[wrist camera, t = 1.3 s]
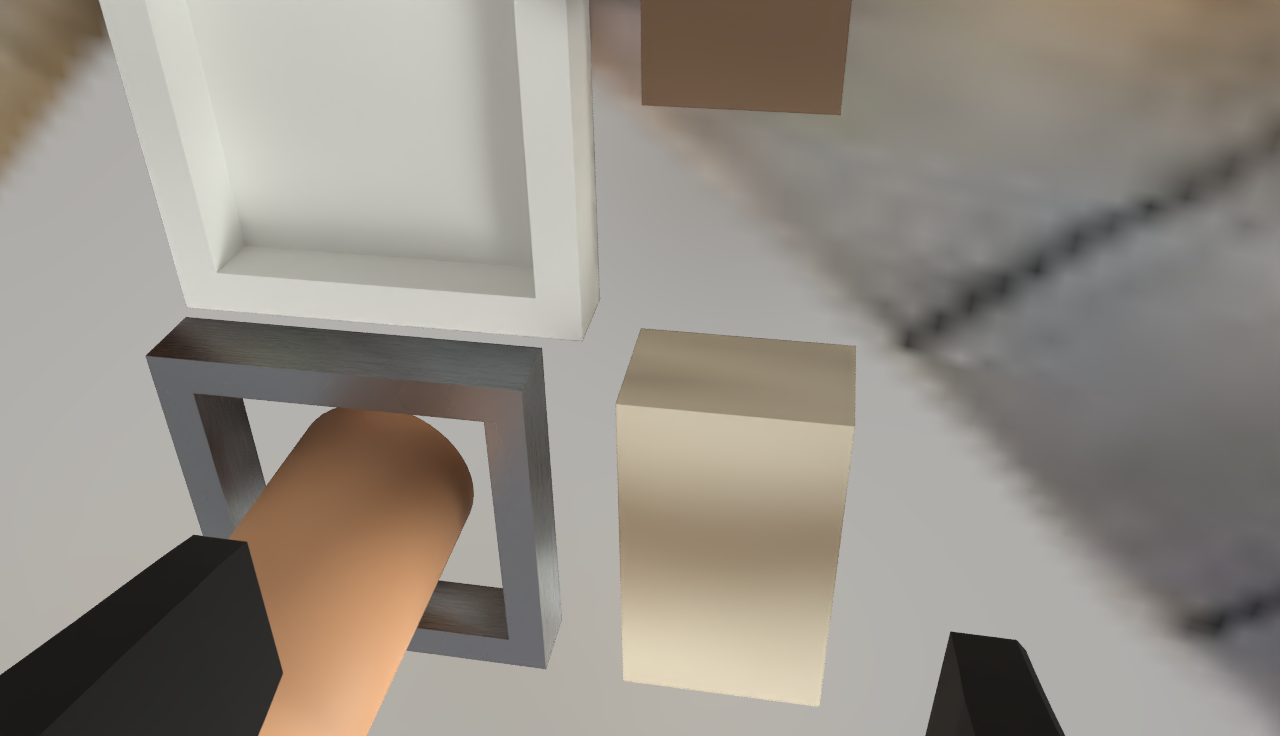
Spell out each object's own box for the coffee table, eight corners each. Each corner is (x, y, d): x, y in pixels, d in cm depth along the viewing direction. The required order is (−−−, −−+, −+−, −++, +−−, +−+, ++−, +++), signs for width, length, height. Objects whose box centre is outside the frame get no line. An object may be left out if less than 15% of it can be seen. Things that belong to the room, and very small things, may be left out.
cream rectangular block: (823, 615, 23) (819, 706, 21) (643, 593, 24) (623, 681, 22) (855, 345, 19) (854, 426, 17) (641, 328, 20) (615, 403, 18)
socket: (562, 619, 25) (546, 669, 24) (262, 582, 26) (232, 627, 25) (542, 347, 21) (521, 390, 19) (185, 317, 22) (145, 355, 21)
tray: (599, 299, 20) (582, 341, 19) (226, 270, 21) (186, 307, 20) (583, -145, 16) (560, -130, 14) (118, -152, 17) (59, -138, 16)
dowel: (481, 553, 24) (363, 829, 18) (318, 534, 25) (154, 795, 19) (463, 413, 22) (322, 676, 16) (284, 395, 23) (88, 643, 17)
